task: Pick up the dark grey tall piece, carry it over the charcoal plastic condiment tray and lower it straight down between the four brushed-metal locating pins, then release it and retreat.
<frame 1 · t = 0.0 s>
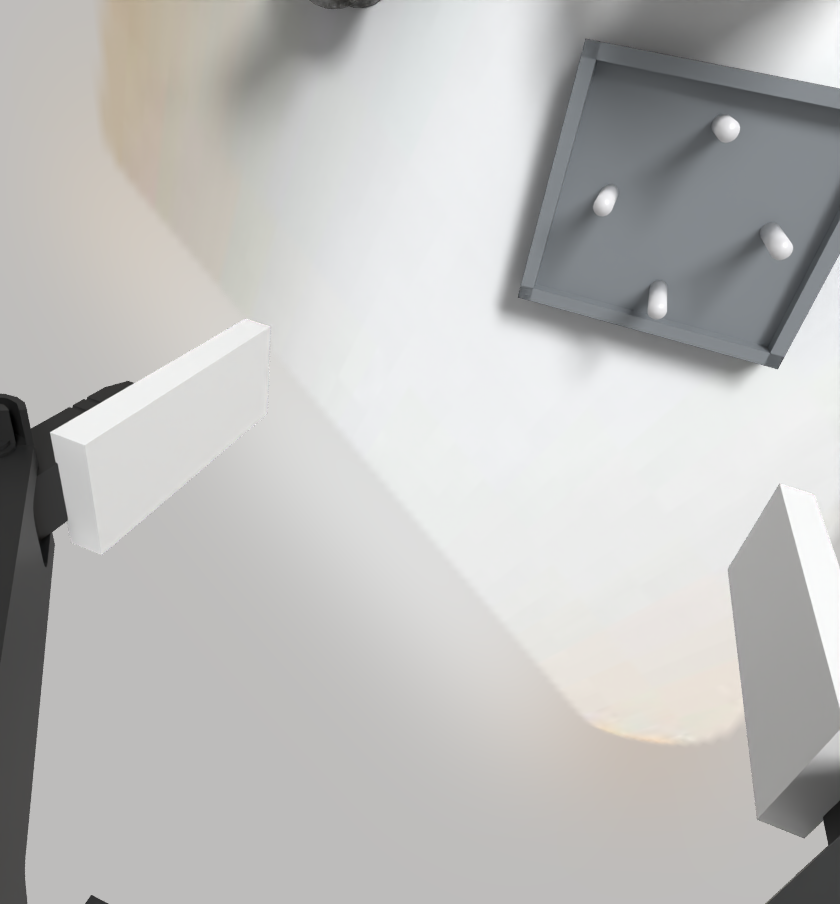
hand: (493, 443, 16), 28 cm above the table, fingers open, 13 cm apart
tray: (687, 208, 37), on the table
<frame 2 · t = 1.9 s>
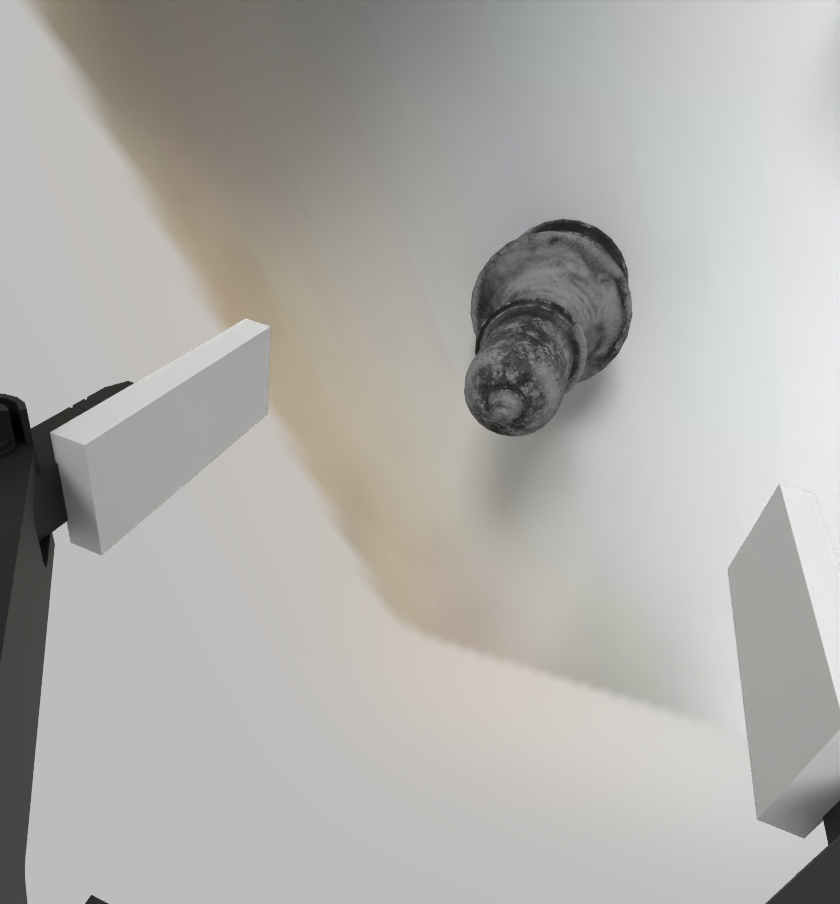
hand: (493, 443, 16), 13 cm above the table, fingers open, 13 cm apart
dark grey tall piece: (561, 284, 26), on the table
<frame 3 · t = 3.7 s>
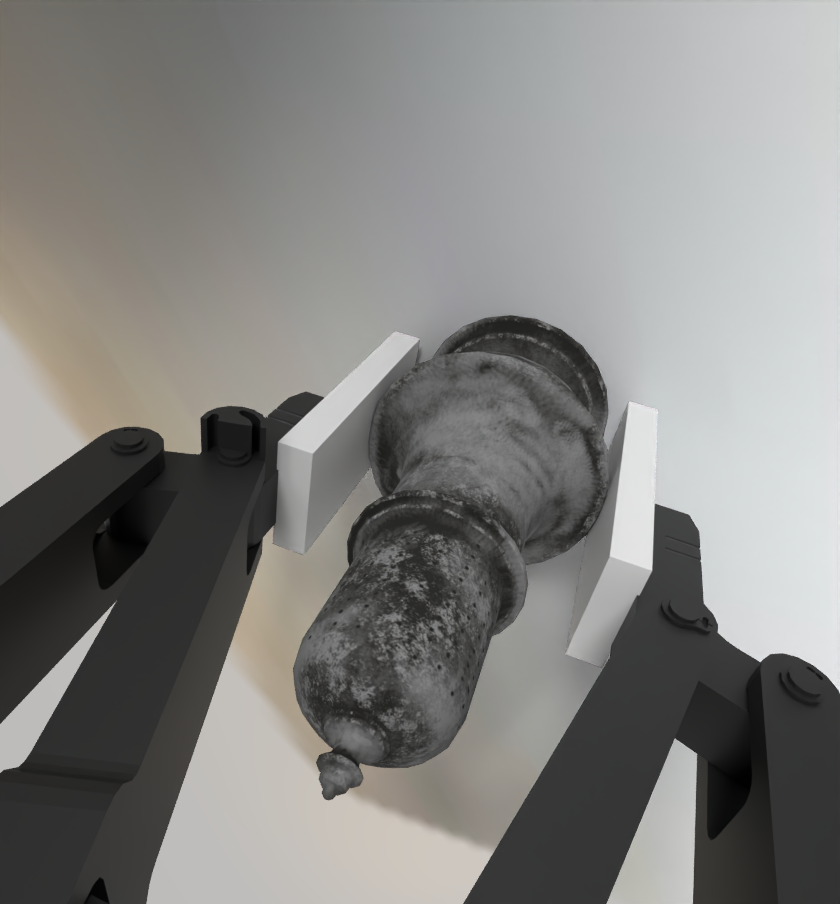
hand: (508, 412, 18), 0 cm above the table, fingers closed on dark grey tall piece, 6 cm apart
dark grey tall piece: (513, 402, 18), on the table, touching gripper
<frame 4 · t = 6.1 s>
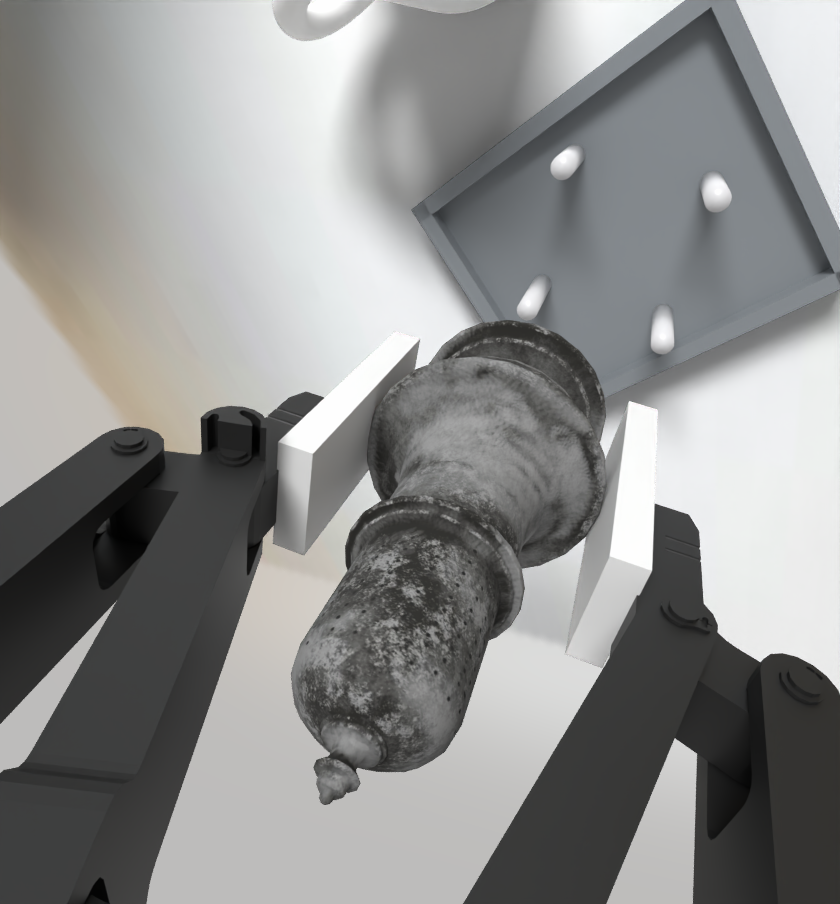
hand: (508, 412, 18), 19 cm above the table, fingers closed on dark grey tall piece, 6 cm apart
tray: (621, 232, 32), on the table
dark grey tall piece: (511, 406, 18), point 19 cm above the table, touching gripper
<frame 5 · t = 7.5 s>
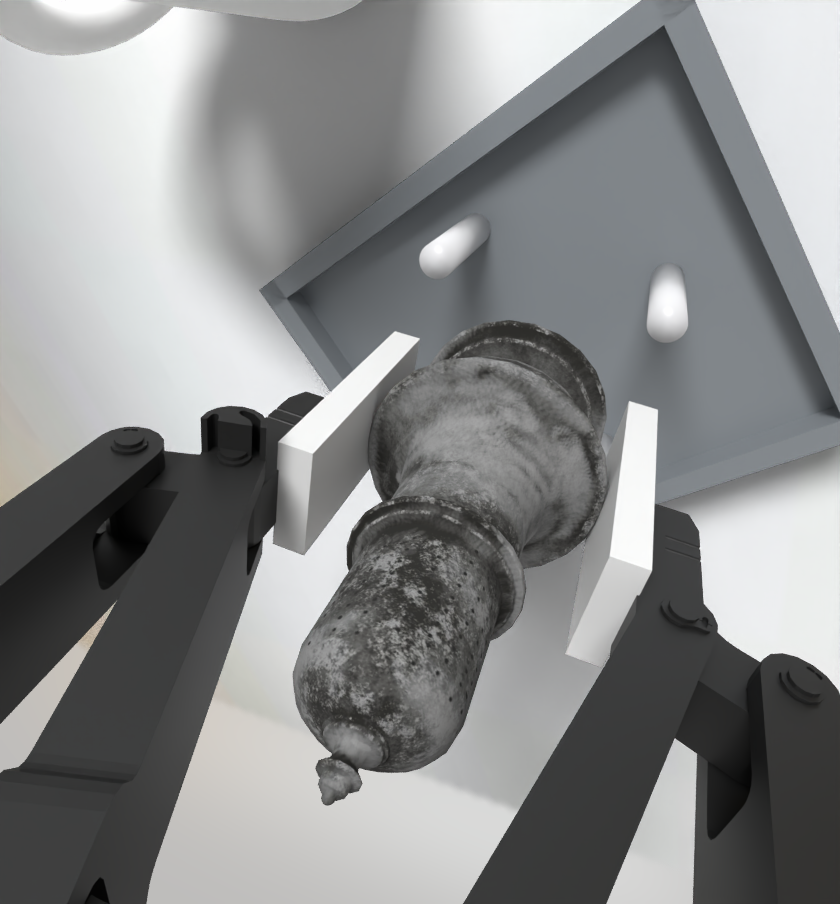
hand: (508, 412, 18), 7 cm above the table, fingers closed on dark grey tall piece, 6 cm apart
tray: (547, 331, 23), on the table
dark grey tall piece: (512, 406, 18), point 6 cm above the table, touching gripper
when the fingers open (3 cm above the table, at t = 8.7 s): dark grey tall piece stays where it is, resting on tray.
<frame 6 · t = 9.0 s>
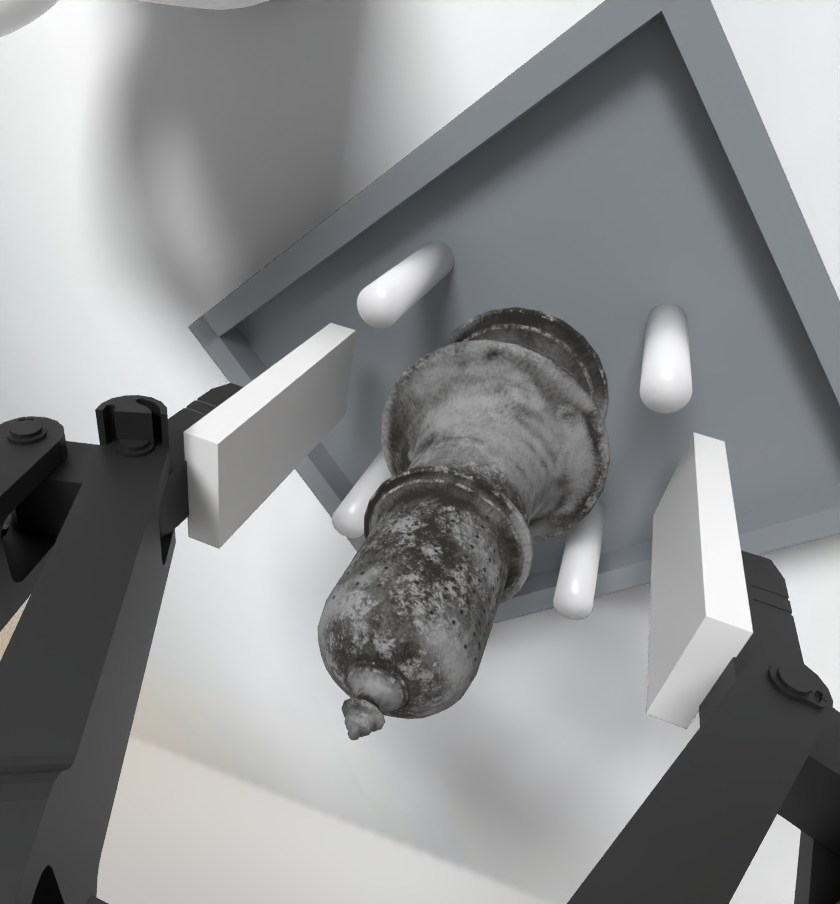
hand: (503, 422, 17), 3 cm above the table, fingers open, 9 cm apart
tray: (525, 376, 20), on the table
dark grey tall piece: (517, 391, 19), point 1 cm above the table, touching tray
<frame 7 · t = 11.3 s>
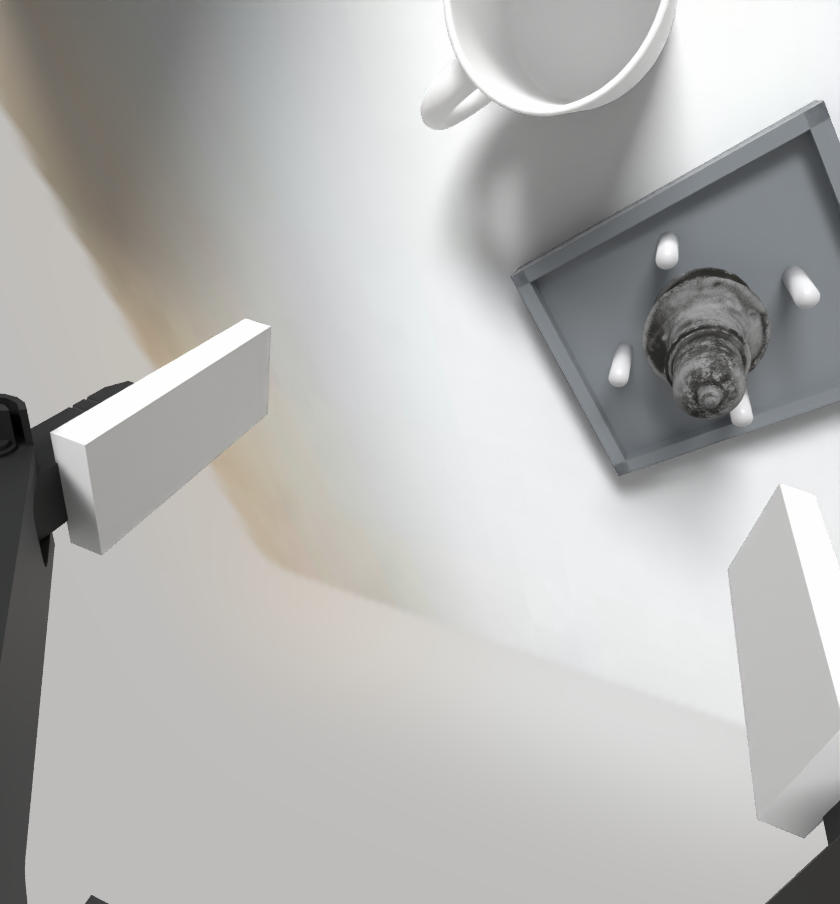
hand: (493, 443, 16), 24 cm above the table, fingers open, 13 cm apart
tray: (702, 309, 36), on the table
mug: (554, 42, 32), on the table
dark grey tall piece: (701, 315, 35), point 1 cm above the table, touching tray
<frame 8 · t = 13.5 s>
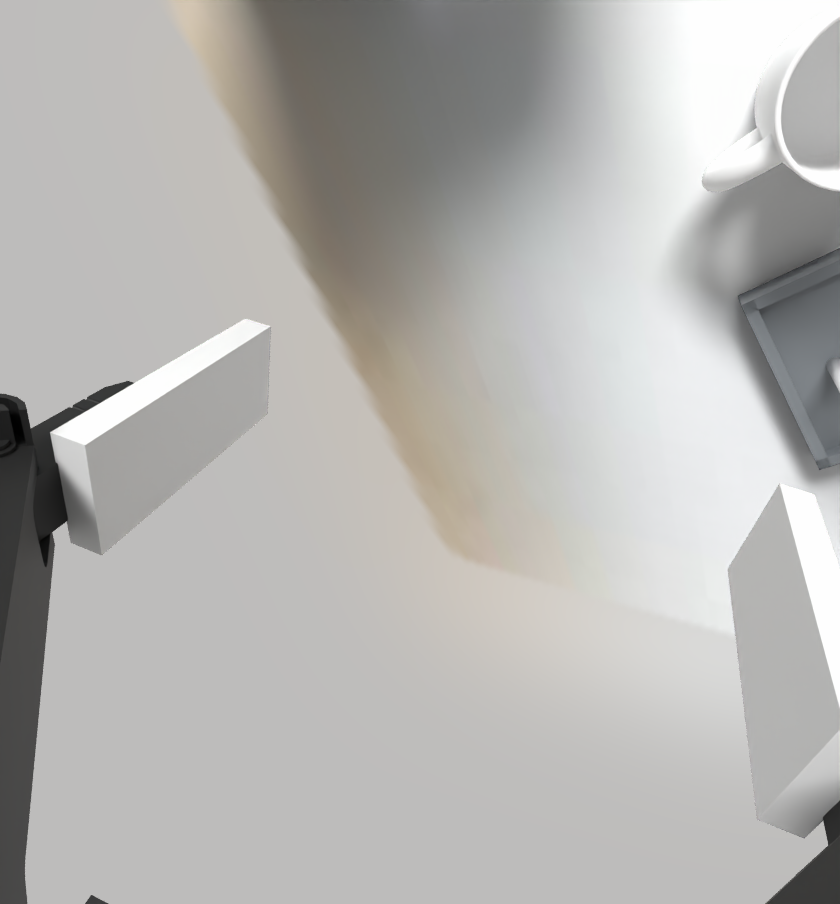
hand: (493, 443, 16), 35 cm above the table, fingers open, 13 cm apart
mug: (796, 111, 39), on the table
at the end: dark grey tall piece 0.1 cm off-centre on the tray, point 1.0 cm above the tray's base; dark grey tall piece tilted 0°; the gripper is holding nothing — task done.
